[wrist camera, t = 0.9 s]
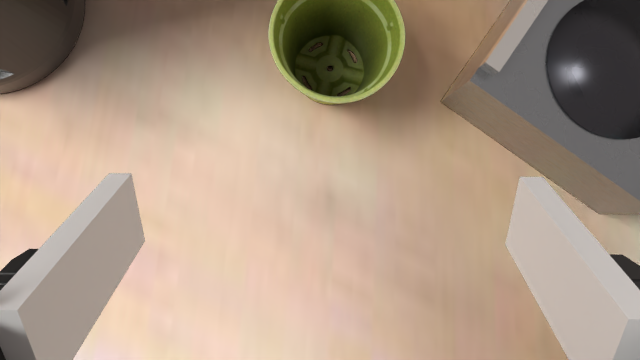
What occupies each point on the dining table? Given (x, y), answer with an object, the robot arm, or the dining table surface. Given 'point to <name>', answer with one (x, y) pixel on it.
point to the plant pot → (337, 46)
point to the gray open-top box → (563, 95)
